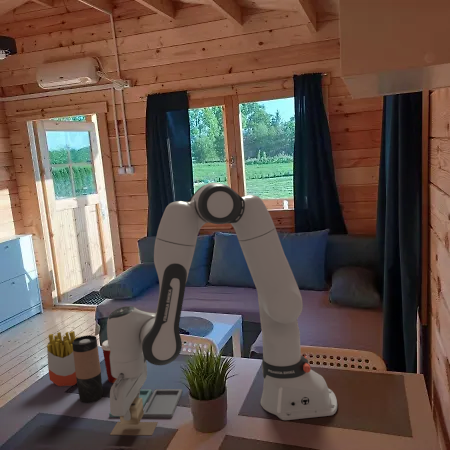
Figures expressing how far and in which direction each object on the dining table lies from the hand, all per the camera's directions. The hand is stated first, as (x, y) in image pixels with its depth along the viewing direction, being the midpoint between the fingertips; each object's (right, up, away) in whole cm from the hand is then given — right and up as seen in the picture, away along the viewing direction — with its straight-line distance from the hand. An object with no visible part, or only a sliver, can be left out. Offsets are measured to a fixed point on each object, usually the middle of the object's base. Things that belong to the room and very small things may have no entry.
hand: (131, 412), depth 124 cm
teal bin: (-3, -4, +14) cm, 14 cm away
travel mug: (-17, -4, +20) cm, 26 cm away
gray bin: (+7, -3, +12) cm, 15 cm away
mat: (+1, -5, +1) cm, 5 cm away
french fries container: (-29, -3, +31) cm, 43 cm away
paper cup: (-12, -2, +31) cm, 33 cm away
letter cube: (0, -2, 0) cm, 2 cm away
